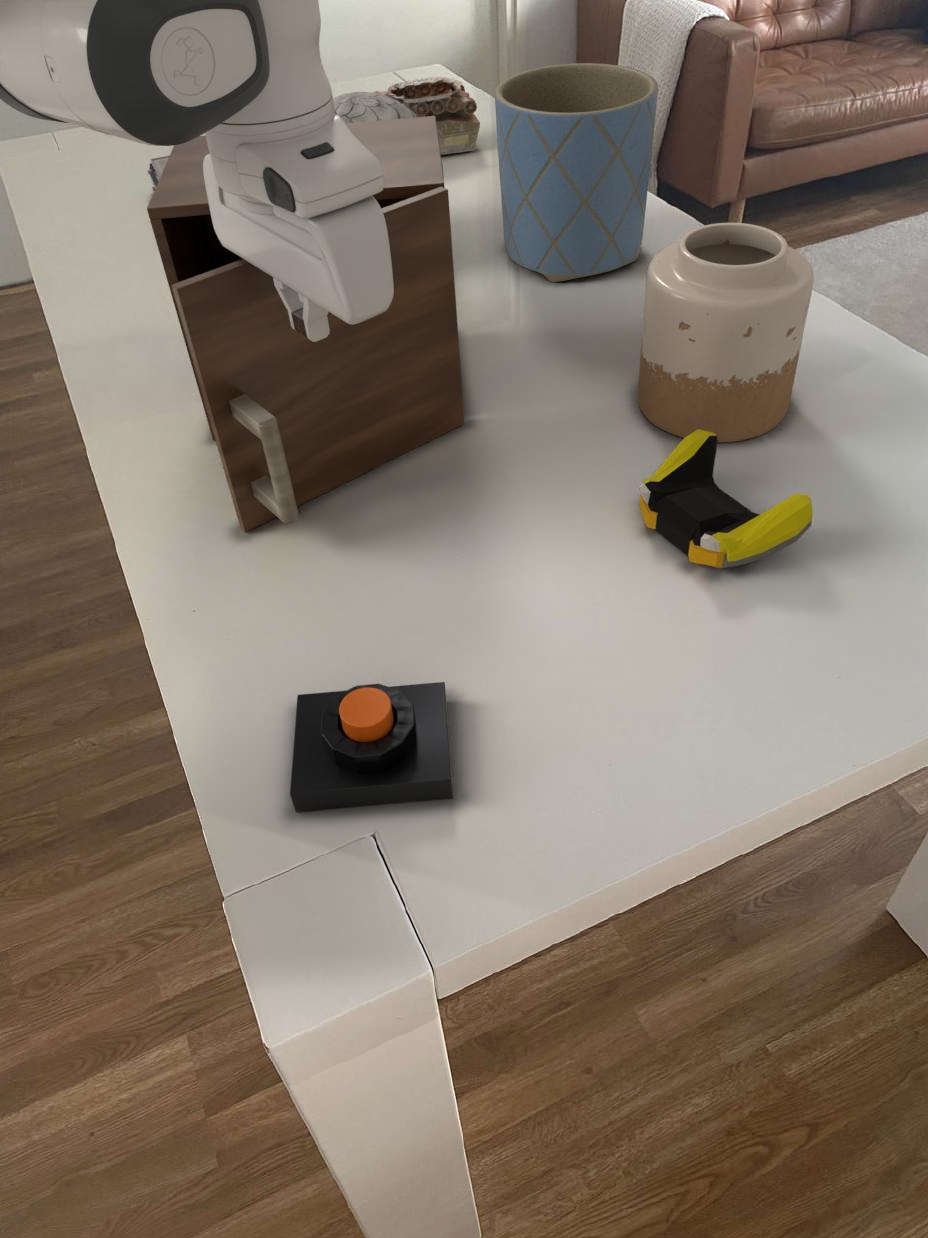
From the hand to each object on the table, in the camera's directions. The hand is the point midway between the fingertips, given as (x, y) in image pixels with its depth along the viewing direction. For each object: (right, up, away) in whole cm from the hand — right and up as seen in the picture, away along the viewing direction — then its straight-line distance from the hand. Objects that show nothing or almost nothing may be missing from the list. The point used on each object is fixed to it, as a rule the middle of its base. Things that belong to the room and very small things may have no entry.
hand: (311, 333), depth 76 cm
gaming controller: (+34, -14, +10) cm, 38 cm away
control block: (+5, -32, -6) cm, 33 cm away
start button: (+5, -30, -8) cm, 31 cm away
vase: (+38, 0, +25) cm, 45 cm away
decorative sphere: (0, +26, +55) cm, 61 cm away
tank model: (+5, +52, +80) cm, 96 cm away
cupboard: (-2, +4, +32) cm, 32 cm away
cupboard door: (+3, -10, +18) cm, 20 cm away
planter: (+26, +26, +52) cm, 64 cm away
